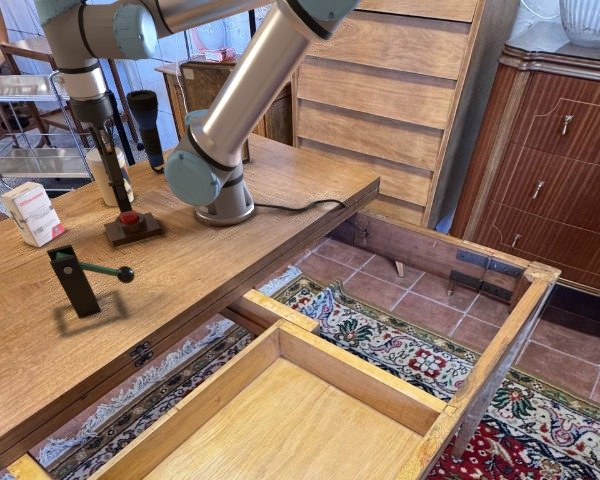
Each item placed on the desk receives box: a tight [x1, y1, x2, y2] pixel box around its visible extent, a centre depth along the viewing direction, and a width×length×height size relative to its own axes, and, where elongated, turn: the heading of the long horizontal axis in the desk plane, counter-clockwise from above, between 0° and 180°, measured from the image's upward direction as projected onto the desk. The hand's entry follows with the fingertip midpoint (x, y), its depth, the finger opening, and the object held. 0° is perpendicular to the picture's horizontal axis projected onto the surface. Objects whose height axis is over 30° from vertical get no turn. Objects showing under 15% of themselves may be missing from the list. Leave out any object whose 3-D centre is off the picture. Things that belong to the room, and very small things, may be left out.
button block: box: [103, 211, 163, 248], centre depth 108 cm, size 12×9×4 cm
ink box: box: [0, 181, 65, 248], centre depth 105 cm, size 9×5×12 cm, turn 152°
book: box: [178, 60, 252, 168], centre depth 126 cm, size 17×7×25 cm, turn 65°
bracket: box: [46, 243, 102, 319], centre depth 85 cm, size 12×9×14 cm
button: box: [118, 209, 138, 224], centre depth 106 cm, size 4×4×2 cm
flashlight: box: [125, 89, 166, 174], centre depth 124 cm, size 8×8×20 cm
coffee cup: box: [85, 146, 134, 207], centre depth 117 cm, size 9×9×12 cm
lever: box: [56, 252, 136, 285], centre depth 85 cm, size 14×3×3 cm
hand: (126, 210), depth 105 cm, fingers closed
